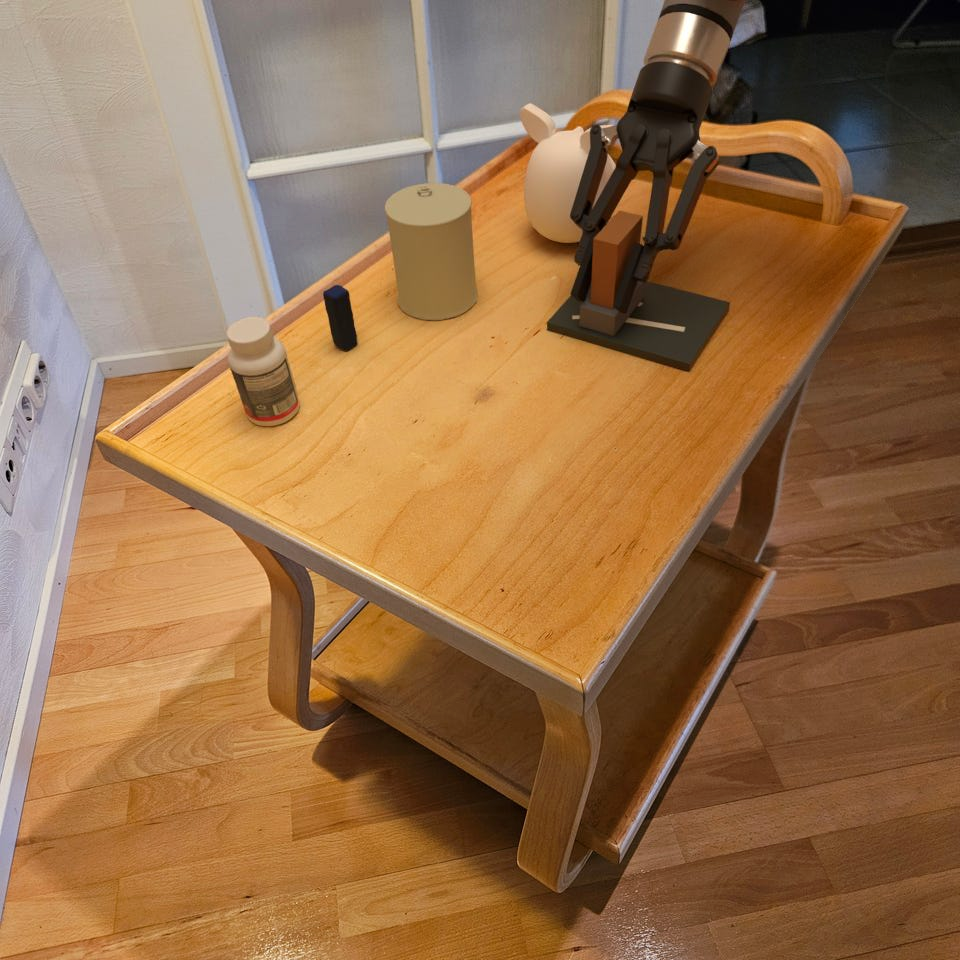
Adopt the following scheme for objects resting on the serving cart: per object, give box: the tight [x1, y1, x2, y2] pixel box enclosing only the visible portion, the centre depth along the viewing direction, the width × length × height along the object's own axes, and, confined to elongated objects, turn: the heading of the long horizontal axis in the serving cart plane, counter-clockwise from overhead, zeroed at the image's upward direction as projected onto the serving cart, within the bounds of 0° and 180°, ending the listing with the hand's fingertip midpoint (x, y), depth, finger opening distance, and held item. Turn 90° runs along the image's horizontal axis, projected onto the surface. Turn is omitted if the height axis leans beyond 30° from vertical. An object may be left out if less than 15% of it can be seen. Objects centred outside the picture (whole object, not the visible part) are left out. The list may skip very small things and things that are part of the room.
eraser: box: [322, 284, 358, 352], centre depth 87 cm, size 2×2×7 cm
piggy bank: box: [519, 102, 617, 244], centre depth 97 cm, size 12×12×15 cm
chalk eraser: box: [579, 210, 646, 336], centre depth 85 cm, size 4×8×10 cm, turn 149°
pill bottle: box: [226, 316, 301, 427], centre depth 79 cm, size 5×5×10 cm
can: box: [384, 182, 479, 321], centre depth 90 cm, size 9×9×12 cm
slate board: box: [546, 280, 731, 372], centre depth 89 cm, size 16×12×1 cm
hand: (598, 303), depth 84 cm, fingers closed on chalk eraser, 4 cm apart
